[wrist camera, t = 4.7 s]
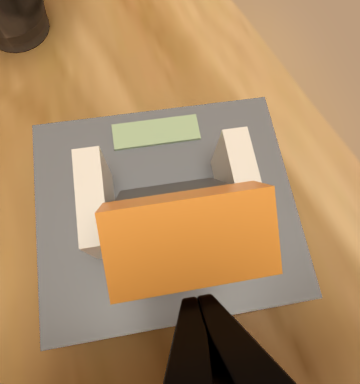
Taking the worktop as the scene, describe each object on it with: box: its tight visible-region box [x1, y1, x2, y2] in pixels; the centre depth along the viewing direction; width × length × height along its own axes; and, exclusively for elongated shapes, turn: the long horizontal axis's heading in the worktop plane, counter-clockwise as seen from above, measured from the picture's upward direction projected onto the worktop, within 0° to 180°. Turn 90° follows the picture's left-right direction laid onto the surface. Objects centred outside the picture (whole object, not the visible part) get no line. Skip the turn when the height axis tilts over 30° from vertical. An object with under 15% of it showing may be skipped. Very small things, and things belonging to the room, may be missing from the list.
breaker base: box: [32, 97, 322, 351], centre depth 17 cm, size 12×14×6 cm
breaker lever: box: [95, 178, 283, 305], centre depth 12 cm, size 2×5×9 cm, turn 100°
